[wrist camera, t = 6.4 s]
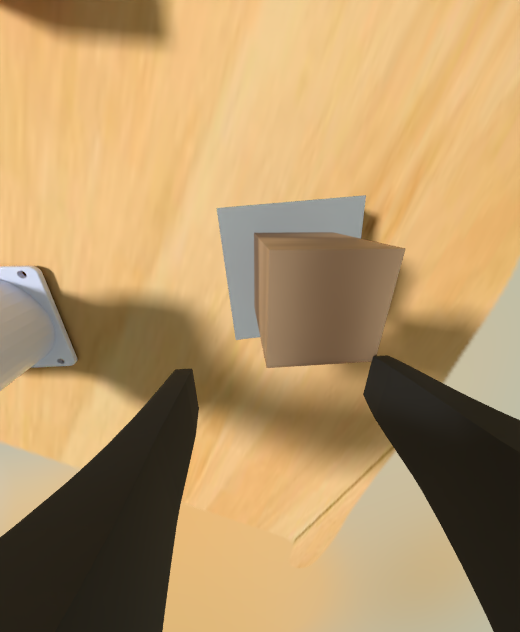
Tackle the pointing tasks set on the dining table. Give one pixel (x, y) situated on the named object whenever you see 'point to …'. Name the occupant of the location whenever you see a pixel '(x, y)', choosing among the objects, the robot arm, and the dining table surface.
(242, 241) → the grey base block
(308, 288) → the walnut block
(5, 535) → the robot arm
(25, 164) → the dining table surface
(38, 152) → the dining table surface
